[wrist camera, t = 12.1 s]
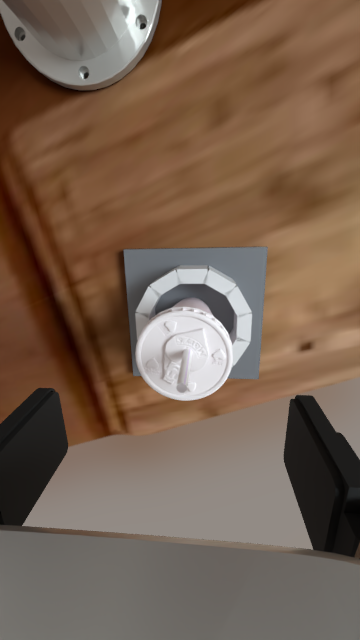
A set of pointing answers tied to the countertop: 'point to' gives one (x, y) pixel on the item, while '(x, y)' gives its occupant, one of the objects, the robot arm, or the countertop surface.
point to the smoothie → (184, 351)
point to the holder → (202, 293)
